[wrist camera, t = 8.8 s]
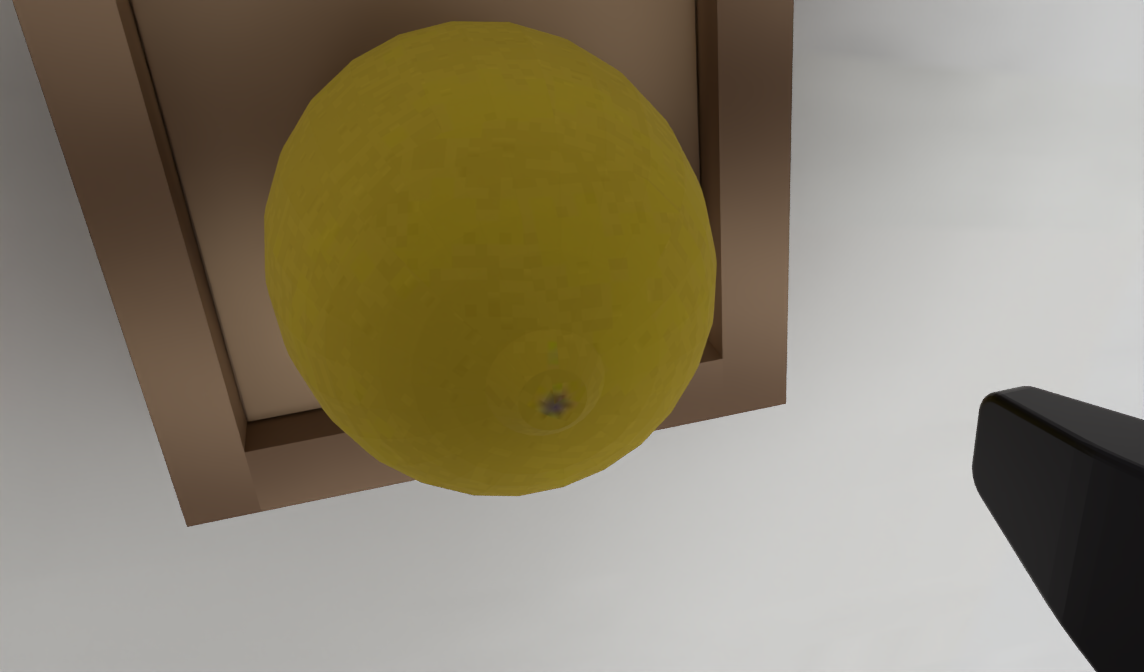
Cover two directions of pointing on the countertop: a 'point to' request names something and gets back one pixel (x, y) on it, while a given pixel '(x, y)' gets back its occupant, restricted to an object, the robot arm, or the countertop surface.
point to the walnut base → (246, 170)
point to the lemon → (489, 258)
